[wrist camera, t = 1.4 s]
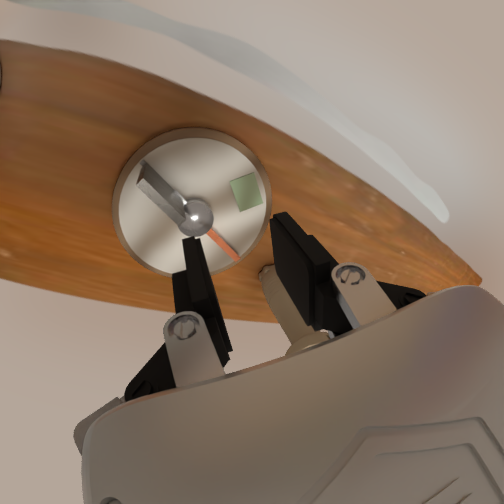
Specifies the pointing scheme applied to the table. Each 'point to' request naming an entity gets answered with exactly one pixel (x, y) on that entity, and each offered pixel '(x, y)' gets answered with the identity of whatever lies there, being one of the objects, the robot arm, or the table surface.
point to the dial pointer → (181, 208)
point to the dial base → (193, 186)
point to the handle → (288, 313)
